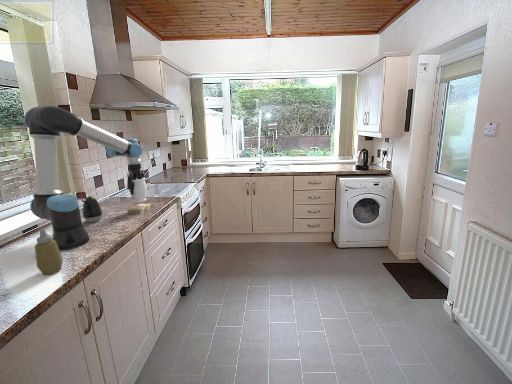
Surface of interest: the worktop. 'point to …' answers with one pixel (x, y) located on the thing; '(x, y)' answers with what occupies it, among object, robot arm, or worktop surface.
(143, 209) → the birch trivet
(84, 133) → the robot arm
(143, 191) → the white cup
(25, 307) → the worktop surface
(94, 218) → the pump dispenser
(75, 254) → the worktop surface
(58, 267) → the squeeze bottle
